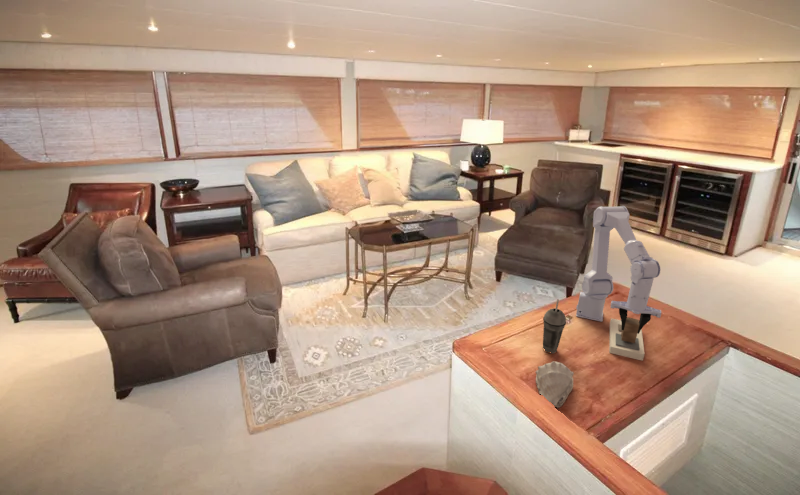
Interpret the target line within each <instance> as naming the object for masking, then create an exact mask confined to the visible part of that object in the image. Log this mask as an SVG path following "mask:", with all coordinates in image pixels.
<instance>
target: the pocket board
mask: <svg viewBox="0 0 800 495" xmlns="http://www.w3.org/2000/svg"><path fill="white" fill-rule="evenodd" d="M621 326H622V322H621V319H616V318H610V320H609V342H608V343H609V345H608V346H609V353H608V354H613V355H617V356H621V357H625V358H630V359H633V360H638V361H644V358H645V347H644V346H645V345H644V339H643V338H644V337H643V331H642V330H643V328H642V329H641V331H640V333H639V334H638V333H637V337H636V338H638V339H639V351H638V350H634V349H629V348H625V347H621V346H616V333H617V334H621V333H622V330H621Z"/></svg>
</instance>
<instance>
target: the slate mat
mask: <svg viewBox="0 0 800 495" xmlns="http://www.w3.org/2000/svg"><path fill="white" fill-rule="evenodd" d="M616 346H621V347H625V348H629V349H634V350H638V351H639V339H638V338H636V340H635V343H631V342H627V341H622V340H621V334H617V333H616Z"/></svg>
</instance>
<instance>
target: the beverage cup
mask: <svg viewBox="0 0 800 495" xmlns="http://www.w3.org/2000/svg"><path fill="white" fill-rule="evenodd" d="M555 305H556V306H555V308H550V309H548V310H547V311H546V312H545V313H544V314H543V315H544V316H543V318H542V320H543V333H542V334H543V335H542V349H543V348H544V349H545V351H547V352H551V353H552V354H556V353H557V350H558V348H559V345H560V342H561V339H562V334H563V331H564V329H565V327H566V324H567V317H566V314H565V313H564V312H563V311H562V310H561V309H560V308H558V307H559V298H558V299H557V300H556V304H555ZM545 351H544V352H545ZM547 352H546V353H547ZM555 352H556V353H555ZM551 353H550V354H551Z"/></svg>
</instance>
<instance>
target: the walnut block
mask: <svg viewBox="0 0 800 495" xmlns="http://www.w3.org/2000/svg"><path fill="white" fill-rule="evenodd" d="M639 320H640V319H638V318H633V317H628V316H627V318H626V322H625V327H624V330H622V331H621V332H622V333H621V340H622V341H627V342H631V343H635V340H636V337H637V333H638V329H639Z"/></svg>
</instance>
